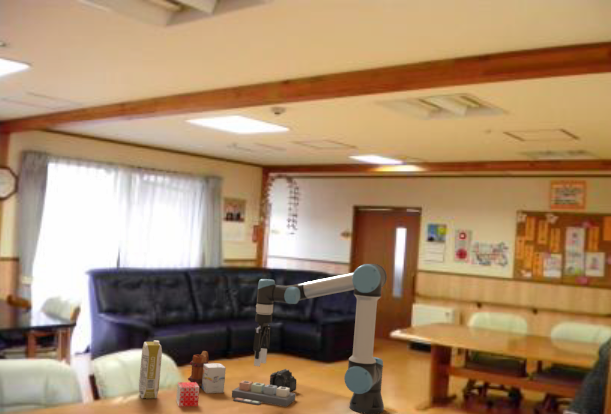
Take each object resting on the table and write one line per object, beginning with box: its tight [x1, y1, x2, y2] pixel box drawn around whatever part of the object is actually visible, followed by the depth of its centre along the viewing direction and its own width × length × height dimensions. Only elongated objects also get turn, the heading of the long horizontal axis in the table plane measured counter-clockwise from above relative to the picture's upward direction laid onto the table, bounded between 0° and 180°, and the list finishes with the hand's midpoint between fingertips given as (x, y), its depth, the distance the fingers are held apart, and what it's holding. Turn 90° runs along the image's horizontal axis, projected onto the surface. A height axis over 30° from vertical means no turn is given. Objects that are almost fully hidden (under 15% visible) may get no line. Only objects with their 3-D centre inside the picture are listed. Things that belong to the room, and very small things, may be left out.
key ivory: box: [276, 386, 291, 397], centre depth 269 cm, size 5×5×4 cm
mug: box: [187, 350, 209, 388], centre depth 288 cm, size 15×8×15 cm, turn 168°
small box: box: [175, 381, 200, 407], centre depth 256 cm, size 8×8×8 cm
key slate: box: [264, 383, 277, 395], centre depth 271 cm, size 5×5×4 cm
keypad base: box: [231, 386, 296, 408], centre depth 272 cm, size 26×12×3 cm, turn 72°
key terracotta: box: [238, 380, 254, 391], centre depth 275 cm, size 5×5×4 cm
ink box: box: [201, 362, 226, 394], centre depth 279 cm, size 9×8×12 cm
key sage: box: [251, 382, 266, 393], centre depth 273 cm, size 5×5×4 cm
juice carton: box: [138, 340, 163, 399], centre depth 262 cm, size 9×8×24 cm
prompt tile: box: [233, 398, 262, 406], centre depth 265 cm, size 12×3×1 cm, turn 72°
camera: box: [269, 368, 297, 393], centre depth 290 cm, size 13×10×10 cm
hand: (260, 364), depth 273 cm, fingers open, 6 cm apart
